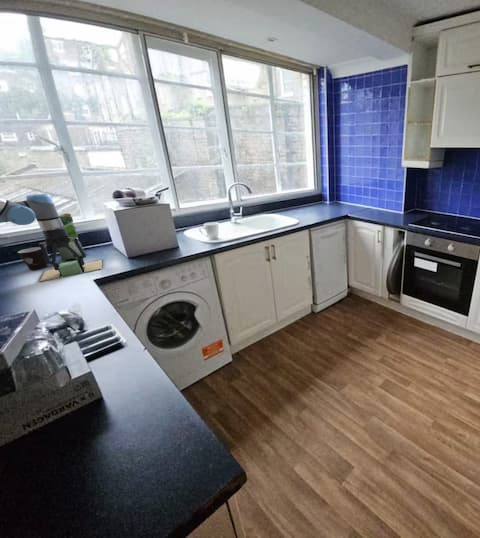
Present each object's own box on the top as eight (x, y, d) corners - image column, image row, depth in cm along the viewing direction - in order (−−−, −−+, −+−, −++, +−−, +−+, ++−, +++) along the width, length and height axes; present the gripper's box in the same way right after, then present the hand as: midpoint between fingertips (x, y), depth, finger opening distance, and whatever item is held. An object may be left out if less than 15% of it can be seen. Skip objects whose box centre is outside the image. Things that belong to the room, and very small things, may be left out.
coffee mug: (22, 270, 150) (12, 252, 146) (41, 264, 158) (33, 247, 154) (40, 272, 148) (31, 253, 144) (59, 265, 156) (51, 247, 152)
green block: (63, 278, 140) (58, 267, 138) (64, 273, 145) (59, 263, 143) (82, 274, 144) (77, 263, 142) (83, 270, 149) (78, 260, 147)
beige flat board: (40, 283, 135) (39, 281, 135) (45, 273, 147) (44, 270, 146) (101, 270, 148) (100, 268, 147) (102, 262, 159) (101, 260, 159)
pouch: (87, 253, 174) (69, 211, 164) (89, 257, 166) (71, 214, 156) (61, 258, 166) (41, 214, 157) (62, 263, 159) (41, 218, 149)
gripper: (81, 223, 144) (99, 266, 153) (23, 230, 133) (46, 276, 142) (80, 225, 139) (99, 270, 148) (20, 234, 127) (44, 281, 136)
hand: (73, 273), depth 145 cm, fingers closed on green block, 7 cm apart
